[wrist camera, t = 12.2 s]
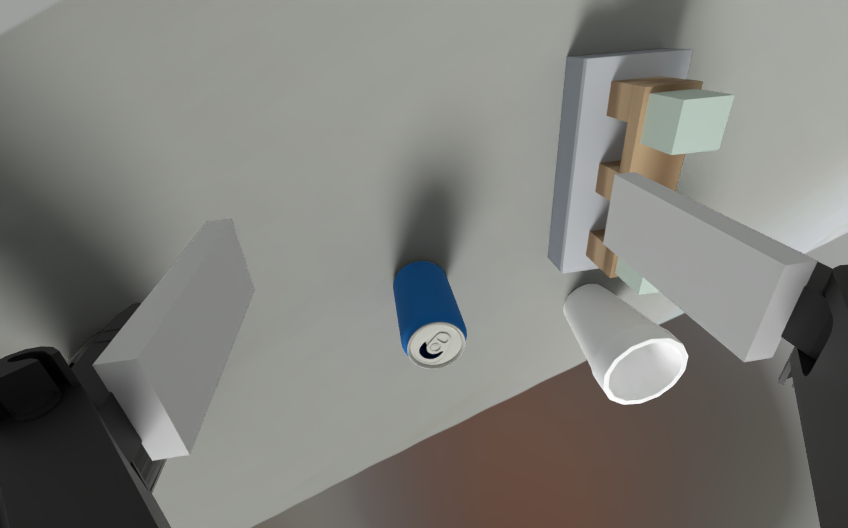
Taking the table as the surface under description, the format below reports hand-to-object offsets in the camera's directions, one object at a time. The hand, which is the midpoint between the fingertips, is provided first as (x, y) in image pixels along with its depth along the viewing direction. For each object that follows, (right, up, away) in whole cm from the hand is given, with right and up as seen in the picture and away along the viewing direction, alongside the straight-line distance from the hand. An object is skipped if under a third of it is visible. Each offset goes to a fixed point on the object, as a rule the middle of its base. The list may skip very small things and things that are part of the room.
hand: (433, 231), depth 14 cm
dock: (+19, +10, +31) cm, 38 cm away
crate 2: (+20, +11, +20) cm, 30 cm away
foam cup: (+21, -6, +41) cm, 46 cm away
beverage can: (-1, -3, +35) cm, 35 cm away
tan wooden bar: (+20, +8, +27) cm, 35 cm away
